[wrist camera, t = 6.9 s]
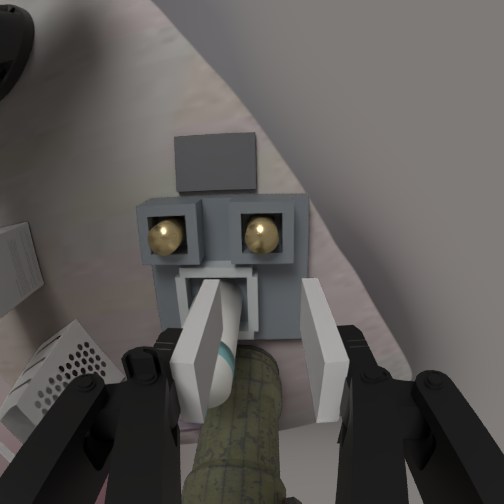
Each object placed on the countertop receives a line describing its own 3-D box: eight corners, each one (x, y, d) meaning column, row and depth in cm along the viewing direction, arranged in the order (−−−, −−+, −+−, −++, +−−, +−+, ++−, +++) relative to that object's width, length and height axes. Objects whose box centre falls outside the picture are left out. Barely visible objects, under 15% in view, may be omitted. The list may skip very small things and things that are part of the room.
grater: (75, 318, 38) (-11, 415, 19) (124, 376, 40) (67, 487, 21) (40, 345, 40) (-34, 428, 21) (84, 395, 43) (29, 488, 23)
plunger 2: (246, 212, 30) (244, 222, 27) (276, 212, 30) (278, 221, 27) (247, 241, 31) (245, 254, 28) (276, 241, 31) (278, 254, 27)
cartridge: (194, 275, 33) (150, 363, 19) (242, 275, 33) (228, 366, 19) (199, 317, 35) (164, 415, 20) (244, 317, 34) (232, 420, 20)
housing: (151, 198, 33) (134, 206, 28) (306, 193, 32) (313, 201, 27) (167, 328, 38) (156, 351, 33) (302, 329, 37) (307, 353, 32)
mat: (175, 137, 31) (174, 136, 30) (254, 132, 31) (254, 132, 30) (178, 191, 33) (176, 191, 32) (256, 188, 32) (256, 188, 32)
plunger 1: (159, 215, 31) (146, 224, 27) (187, 214, 31) (176, 223, 27) (162, 243, 32) (149, 255, 28) (189, 242, 32) (179, 255, 28)
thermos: (186, 367, 39) (108, 636, 6) (264, 327, 37) (260, 669, 4) (226, 409, 41) (195, 652, 8) (301, 375, 39) (332, 655, 6)
